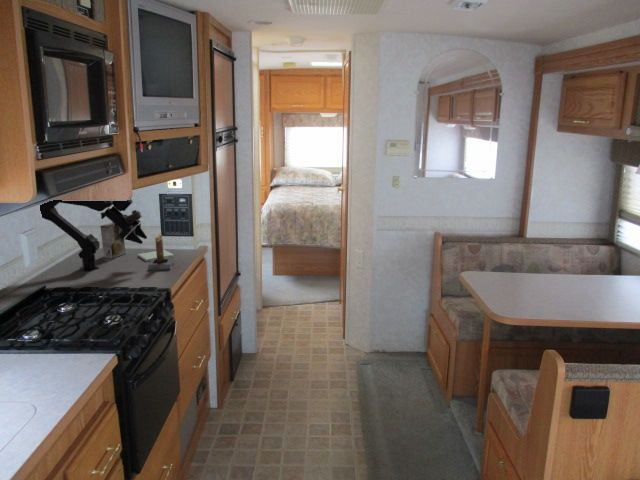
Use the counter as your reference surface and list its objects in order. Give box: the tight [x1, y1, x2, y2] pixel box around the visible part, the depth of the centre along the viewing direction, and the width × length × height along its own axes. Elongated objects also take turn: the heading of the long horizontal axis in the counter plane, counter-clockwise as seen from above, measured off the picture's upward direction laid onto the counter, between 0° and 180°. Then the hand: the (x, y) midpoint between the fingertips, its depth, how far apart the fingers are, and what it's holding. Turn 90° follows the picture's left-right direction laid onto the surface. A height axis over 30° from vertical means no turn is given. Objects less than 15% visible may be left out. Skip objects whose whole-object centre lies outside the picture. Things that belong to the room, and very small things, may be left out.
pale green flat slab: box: [137, 249, 175, 263], centre depth 271 cm, size 14×12×1 cm
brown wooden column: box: [154, 233, 165, 263], centre depth 253 cm, size 5×8×15 cm, turn 5°
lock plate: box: [147, 256, 176, 271], centre depth 255 cm, size 10×12×2 cm
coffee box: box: [99, 222, 127, 259], centre depth 272 cm, size 9×6×16 cm
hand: (144, 240), depth 251 cm, fingers open, 9 cm apart
